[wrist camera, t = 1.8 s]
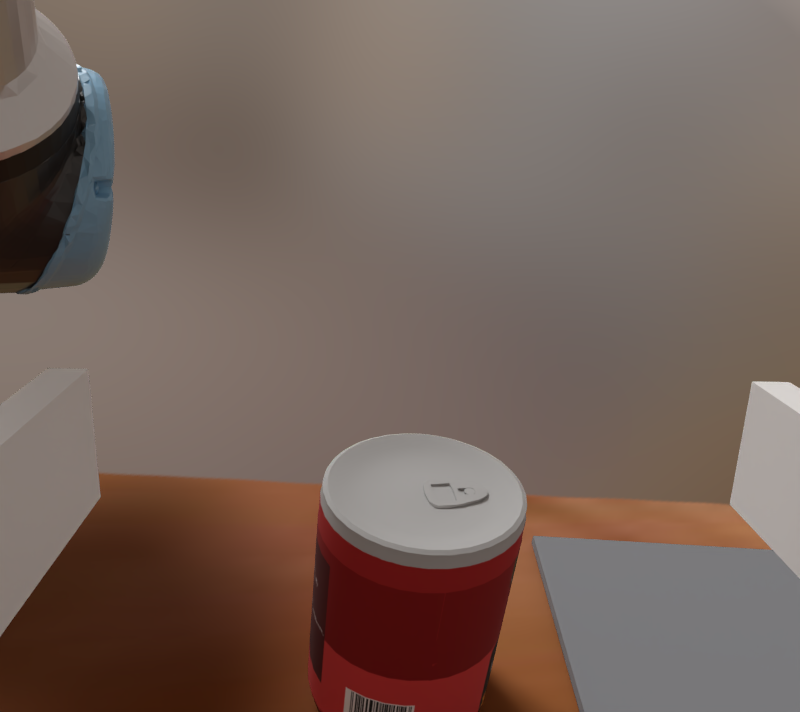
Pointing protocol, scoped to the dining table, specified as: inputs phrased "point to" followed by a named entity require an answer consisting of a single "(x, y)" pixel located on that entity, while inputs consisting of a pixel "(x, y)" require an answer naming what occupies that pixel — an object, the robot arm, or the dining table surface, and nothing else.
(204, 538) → the dining table surface
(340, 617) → the canned food
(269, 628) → the dining table surface
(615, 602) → the rubber mat
